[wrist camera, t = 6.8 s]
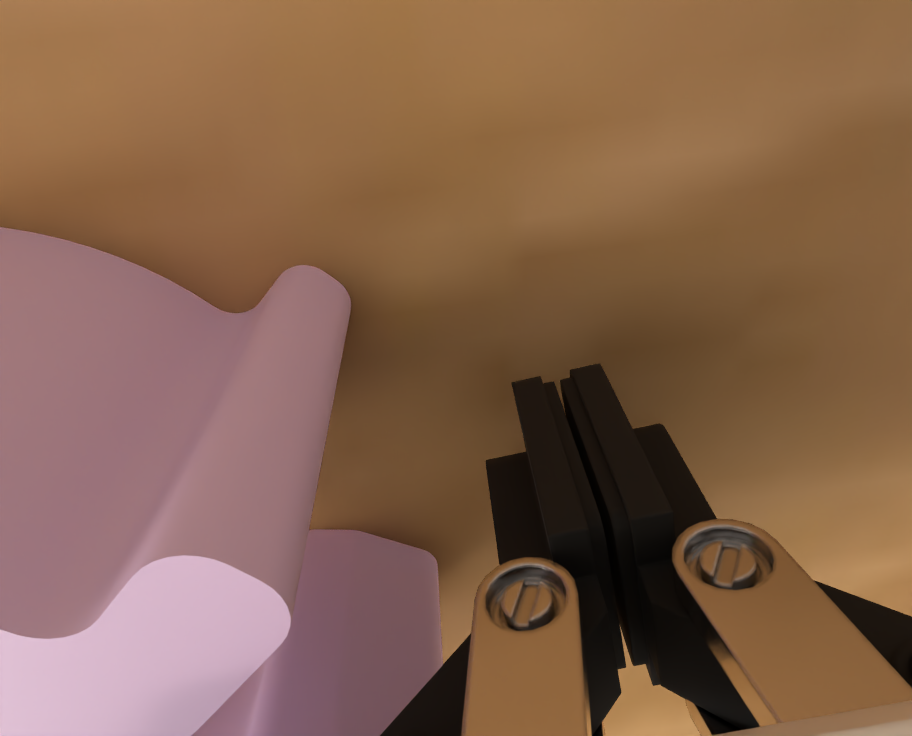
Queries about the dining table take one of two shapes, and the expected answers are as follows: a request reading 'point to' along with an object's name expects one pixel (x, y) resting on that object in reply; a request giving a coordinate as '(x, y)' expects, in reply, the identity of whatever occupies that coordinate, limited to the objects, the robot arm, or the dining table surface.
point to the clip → (186, 514)
